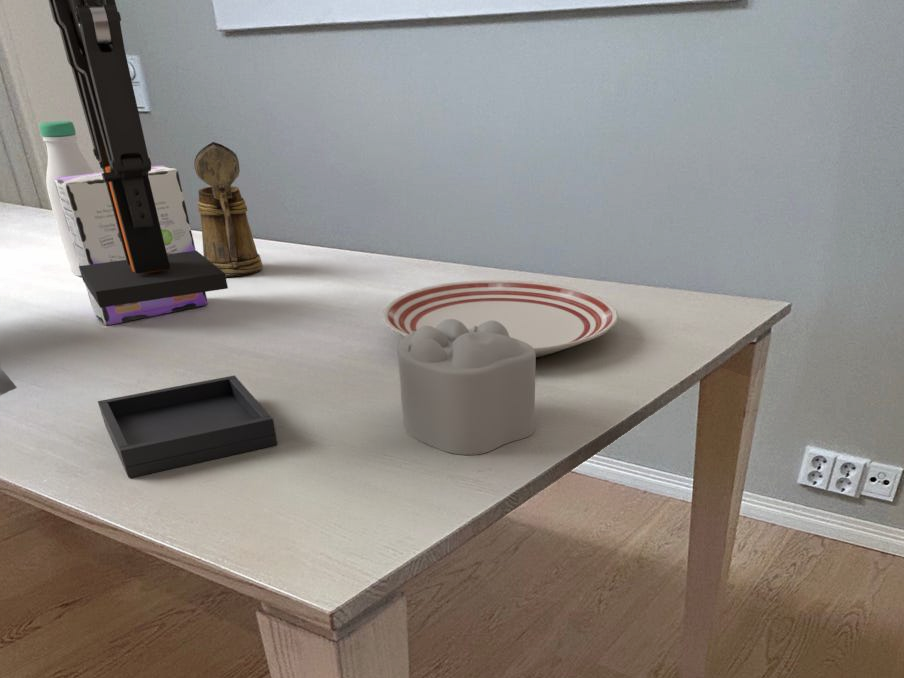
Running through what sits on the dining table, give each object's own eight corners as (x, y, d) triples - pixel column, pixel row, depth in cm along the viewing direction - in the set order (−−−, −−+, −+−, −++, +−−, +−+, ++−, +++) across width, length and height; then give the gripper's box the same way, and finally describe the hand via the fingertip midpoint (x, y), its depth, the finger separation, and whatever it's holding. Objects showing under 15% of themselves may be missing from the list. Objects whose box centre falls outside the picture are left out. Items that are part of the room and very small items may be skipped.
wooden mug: (208, 287, 120) (178, 144, 109) (201, 267, 130) (173, 134, 119) (270, 281, 122) (246, 139, 111) (258, 261, 132) (235, 130, 121)
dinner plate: (633, 311, 105) (636, 283, 103) (590, 386, 84) (591, 353, 82) (432, 298, 112) (430, 272, 110) (346, 365, 91) (342, 334, 89)
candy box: (193, 297, 116) (163, 163, 106) (209, 306, 112) (179, 167, 102) (93, 316, 109) (51, 175, 99) (106, 326, 105) (64, 181, 95)
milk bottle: (83, 280, 125) (37, 126, 113) (64, 272, 129) (18, 123, 117) (132, 271, 129) (92, 120, 117) (112, 263, 134) (72, 118, 121)
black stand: (83, 280, 71) (48, 165, 65) (199, 264, 74) (175, 153, 69) (100, 308, 64) (62, 180, 58) (228, 288, 67) (203, 167, 62)
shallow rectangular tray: (105, 426, 79) (97, 401, 78) (239, 399, 84) (234, 375, 82) (128, 478, 70) (120, 451, 68) (278, 445, 75) (273, 418, 73)
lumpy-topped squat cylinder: (463, 461, 71) (459, 360, 66) (376, 419, 79) (366, 326, 74) (549, 428, 76) (552, 332, 71) (460, 391, 84) (456, 303, 79)
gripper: (131, -134, 50) (217, 279, 64) (94, -103, 61) (174, 243, 75) (-5, -139, 47) (116, 294, 61) (-18, -105, 58) (87, 254, 72)
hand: (148, 265), depth 68 cm, fingers closed on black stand, 3 cm apart
